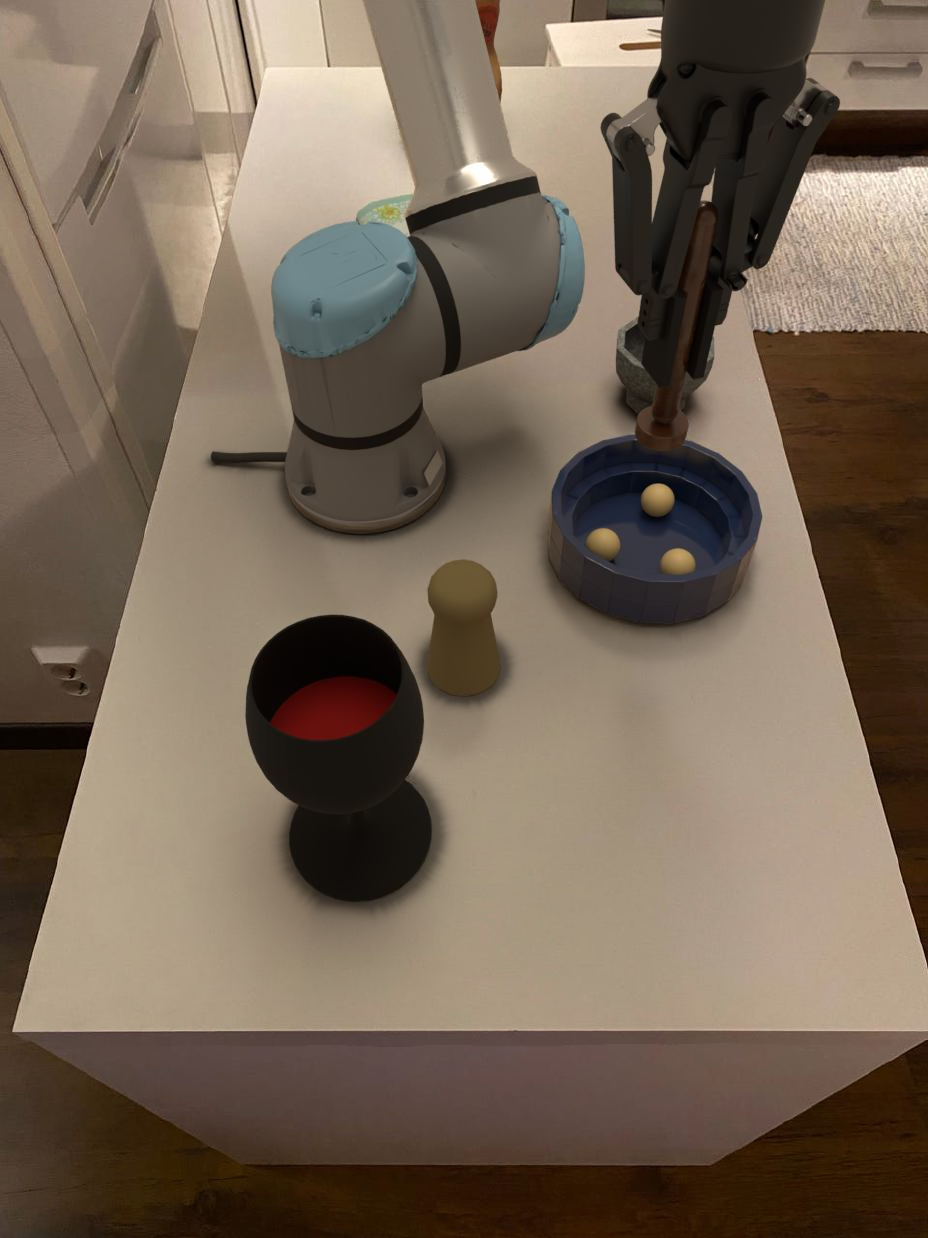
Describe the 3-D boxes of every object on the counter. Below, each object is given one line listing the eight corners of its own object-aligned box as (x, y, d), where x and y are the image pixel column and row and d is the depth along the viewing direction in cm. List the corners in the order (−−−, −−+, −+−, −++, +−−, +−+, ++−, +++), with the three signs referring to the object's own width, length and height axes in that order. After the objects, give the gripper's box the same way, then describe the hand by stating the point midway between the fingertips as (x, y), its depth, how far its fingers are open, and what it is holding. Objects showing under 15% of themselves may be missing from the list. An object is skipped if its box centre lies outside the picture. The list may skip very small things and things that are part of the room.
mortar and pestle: (701, 434, 95) (726, 331, 85) (607, 426, 96) (621, 323, 86) (700, 365, 102) (723, 262, 92) (613, 358, 103) (626, 256, 93)
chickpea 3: (659, 590, 81) (664, 567, 79) (655, 564, 83) (660, 540, 81) (694, 590, 81) (700, 567, 79) (689, 564, 83) (696, 541, 81)
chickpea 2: (646, 526, 86) (632, 497, 85) (651, 513, 89) (638, 485, 88) (677, 515, 85) (663, 485, 84) (681, 502, 87) (668, 474, 86)
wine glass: (432, 767, 72) (419, 599, 56) (433, 900, 65) (420, 753, 50) (294, 771, 72) (243, 605, 56) (282, 905, 65) (221, 760, 49)
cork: (458, 624, 80) (456, 534, 72) (515, 661, 78) (520, 572, 69) (411, 669, 77) (403, 582, 69) (469, 709, 75) (468, 623, 66)
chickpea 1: (582, 555, 85) (581, 559, 82) (590, 523, 84) (590, 525, 81) (615, 564, 84) (615, 568, 81) (624, 531, 84) (624, 534, 81)
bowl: (550, 626, 80) (555, 580, 75) (545, 481, 91) (549, 433, 86) (760, 629, 79) (778, 583, 75) (730, 483, 90) (744, 435, 86)
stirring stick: (637, 451, 66) (677, 218, 53) (632, 417, 68) (669, 186, 55) (689, 451, 66) (742, 218, 53) (682, 417, 68) (732, 186, 55)
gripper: (644, 4, 41) (592, 430, 59) (936, -40, 44) (800, 379, 62) (574, -52, 45) (546, 361, 64) (844, -89, 48) (742, 316, 66)
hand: (672, 369), depth 63 cm, fingers closed on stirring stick, 2 cm apart
